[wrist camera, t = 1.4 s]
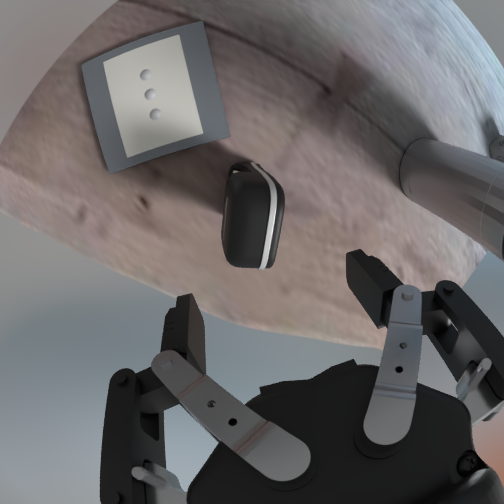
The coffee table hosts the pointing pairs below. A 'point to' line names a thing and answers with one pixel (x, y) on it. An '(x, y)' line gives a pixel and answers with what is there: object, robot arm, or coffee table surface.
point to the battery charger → (251, 216)
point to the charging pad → (155, 96)
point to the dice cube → (497, 149)
